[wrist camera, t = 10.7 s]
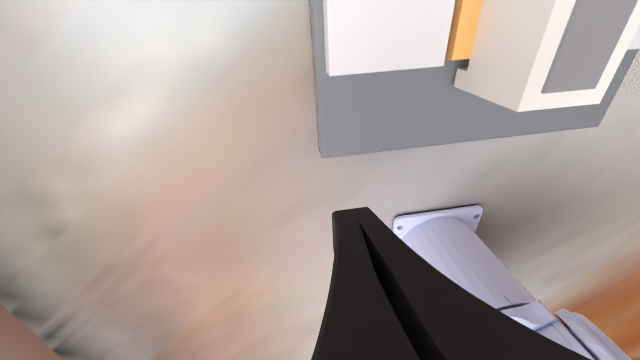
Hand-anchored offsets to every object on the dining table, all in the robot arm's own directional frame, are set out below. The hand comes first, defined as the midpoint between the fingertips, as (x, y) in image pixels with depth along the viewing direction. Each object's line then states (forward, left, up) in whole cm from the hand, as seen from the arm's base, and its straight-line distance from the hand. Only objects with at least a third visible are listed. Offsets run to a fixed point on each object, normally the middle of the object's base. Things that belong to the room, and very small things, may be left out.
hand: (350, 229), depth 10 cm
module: (+6, -10, -8) cm, 14 cm away
